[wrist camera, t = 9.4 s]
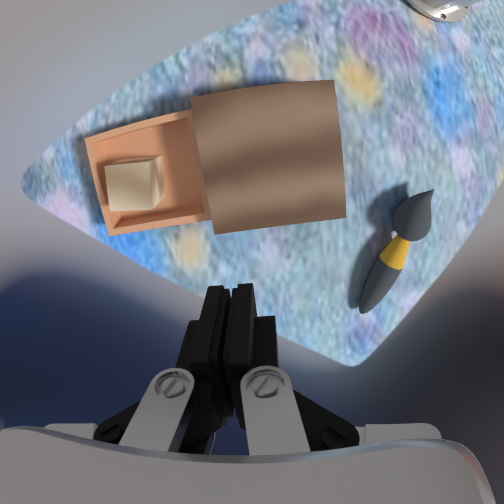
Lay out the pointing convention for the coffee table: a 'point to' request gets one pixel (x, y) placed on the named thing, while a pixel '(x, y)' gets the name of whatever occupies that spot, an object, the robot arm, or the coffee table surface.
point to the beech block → (135, 183)
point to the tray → (174, 171)
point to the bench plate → (271, 155)
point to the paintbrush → (397, 248)
